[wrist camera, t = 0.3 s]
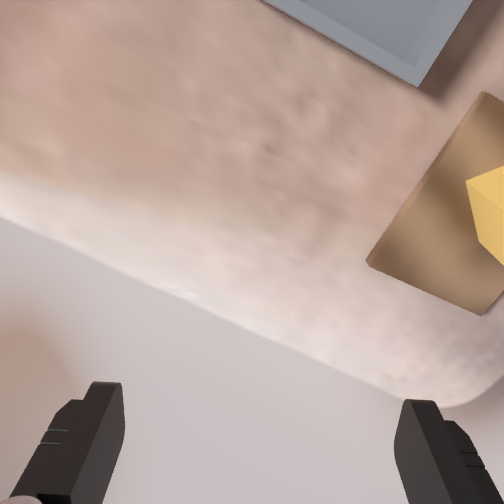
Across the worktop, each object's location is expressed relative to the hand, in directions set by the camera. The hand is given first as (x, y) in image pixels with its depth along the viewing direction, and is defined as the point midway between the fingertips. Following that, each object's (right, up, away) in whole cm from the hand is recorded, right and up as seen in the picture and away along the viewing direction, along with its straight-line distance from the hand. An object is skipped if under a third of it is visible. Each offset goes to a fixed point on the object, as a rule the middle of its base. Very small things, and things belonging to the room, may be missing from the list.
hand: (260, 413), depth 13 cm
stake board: (+17, +8, +21) cm, 28 cm away
